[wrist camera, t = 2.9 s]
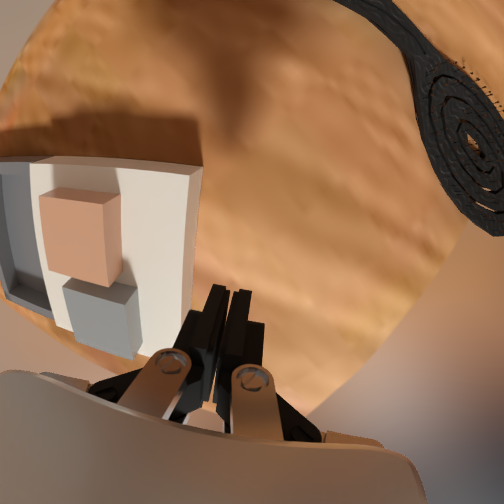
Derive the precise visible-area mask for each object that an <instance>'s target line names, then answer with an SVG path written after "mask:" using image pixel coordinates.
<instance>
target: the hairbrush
mask: <svg viewBox="0 0 504 504" xmlns="http://www.w3.org/2000/svg"><path fill="white" fill-rule="evenodd" d="M333 1H335V2H337V3H339V4H341V5H343V6H345V7H347V8H349V9H351V10H353V11H354V12H356V13H358V14H360V15H361V16H363V17H365V18H366V19H367V20H369V21H370V22H371V23H372V24H373V25H374V26H376V27H377V28H378V29H379V30H380V31H381V32H382V33H383V34H384V35H385V36H387V37H388V38H389V39H390V40H391V41H392V42H393V43H394V44H395V45H396V46H397V47H398V48H399V49H400V50H401V51H402V52H403V53H404V54H405V55H406V57H407V61H408V65H409V70H410V74H411V79H412V84H413V91H414V102H415V113H416V108H417V114H418V120H419V124H418V126H419V127H420V128H419V130H420V135H421V139H422V141H423V144H424V146H425V149H426V152H427V154H428V157H429V159H430V162H431V165H432V167H433V170H434V172H435V174H436V175H437V177H438V179H439V181H440V182H441V184H442V187H443V189H444V190H445V192H446V193H447V195H448V196H449V197H450V199H451V200H452V201H453V202H454V204H455V205H456V206H457V208H458V209H459V210H460V212H461V213H463V214H464V215H465V216H466V217H468V218H469V219H470V220H471V221H472V222H473V223H474V224H475V225H477V226H478V227H480V228H481V229H483V230H484V231H486V232H487V233H489V234H490V235H492V236H504V121H503V119H502V117H501V116H500V114H499V113H498V111H497V109H496V107H495V106H494V105H493V104H494V103H492V102H491V101H490V100H489V99H488V97H487V96H489V95H487V96H486V95H485V93H483V92H482V90H481V88H479V87H478V86H477V85H476V84H475V83H474V82H475V81H474V82H473V81H472V80H471V79H470V78H469V77H468V76H467V75H465V74H464V73H463V72H461V71H460V69H457V68H456V67H455V66H453V65H452V64H451V63H449V62H450V60H445V59H444V58H443V57H442V56H441V54H440V53H439V52H438V51H437V50H436V49H435V48H434V47H433V46H432V45H431V43H430V42H429V41H428V40H427V39H426V38H425V37H424V36H423V34H422V33H421V32H420V31H419V30H418V29H417V27H416V26H415V25H414V24H413V23H412V22H411V21H410V20H409V18H408V17H407V16H406V15H405V14H404V13H403V12H402V11H401V10H400V9H399V8H398V7H397V6H396V5H395V4H394V3H393V2H392V1H391V0H333ZM448 61H449V62H448ZM456 63H457V62H455V64H456ZM463 68H465V66H464V67H463ZM461 69H462V68H461ZM471 74H473V72H472V73H471ZM437 76H446V77H448V78H445V77H440V78H436V79H434V80H433V78H434V77H437ZM477 80H478V81H479V80H480V79H479V78H476V81H477ZM482 88H486V86H484V87H482ZM489 93H491V91H489ZM490 95H493V94H490ZM446 96H451V97H450V98H448V99H447V100H445V97H446ZM452 97H454V98H457V99H460V100H462V101H464V102H465V103H466V104H465V103H463V102H461V101H459V100H456V99H454V98H452ZM444 100H445V101H444ZM495 103H499V101H497V102H495ZM500 107H502V106H501V105H500ZM440 111H441V112H440ZM502 111H504V110H502ZM499 112H500V111H499ZM462 119H464V120H466V121H467V122H468V123H470V124H468V123H465V122H461V120H462ZM416 120H417V117H416ZM459 122H461V123H459ZM417 123H418V121H417ZM473 126H474V127H475V128H476V129H477V130H476V129H475V128H474V127H473ZM467 133H468V134H469V135H470V136H471V137H472V138H473V139H474V141H475V142H477V143H475V144H476V145H477V144H478V147H479V150H476V151H480V152H481V153H482V157H481V156H480V157H479V156H478V155H477V154H476V153H475V152H474V151H473V150H472V149H471V148H470V147H469V145H468V137H467ZM444 135H445V136H444ZM445 137H446V138H445ZM472 141H473V140H472ZM436 144H437V145H436ZM470 145H472V144H470ZM437 146H438V147H437ZM458 161H459V162H458ZM461 166H462V167H461ZM475 166H476V167H477V168H478V169H479V170H483V171H481V172H480V171H478V170H477V169H476V167H475ZM462 168H463V169H464V170H465V171H464V170H463V169H462ZM450 172H451V173H450ZM467 173H468V174H469V175H470V176H471V177H470V176H469V175H468V174H467ZM451 174H452V175H451ZM452 176H453V177H452ZM455 180H456V181H455ZM476 183H477V184H478V185H479V187H478V186H477V184H476ZM481 186H482V187H483V188H488V189H490V190H491V191H486V190H484V189H482V188H480V187H481ZM469 196H470V197H471V198H473V199H474V200H475V201H477V202H478V203H480V204H482V205H484V206H486V207H488V208H490V209H492V210H494V212H493V211H491V210H488V209H485V208H484V207H482V206H480V205H478V204H476V203H475V202H472V200H471V199H470V198H469Z"/></svg>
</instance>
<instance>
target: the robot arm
mask: <svg viewBox="0 0 504 504" xmlns="http://www.w3.org/2000/svg"><path fill="white" fill-rule="evenodd" d="M251 294H252V291H249V290H244V289H239V292H236V291H234V293H233V297H232V301H231V305H230V309H229V313H228V317H227V321H226V316H227V309H228V303H229V296H230V290H226V286H222V285H217V284H213V286H212V288H211V291H210V293H209V296H208V299H207V301H206V304H205V306H204V309H203V311H202V312H200V311H196V310H191V309H190V310H189V312H188V314H187V316H186V318H185V320H184V322H183V325H182V327H181V329H180V331H179V334H178V336H177V338H176V340H175V343H174V345H173V347H172V348H165V349H161V350H159V351H157V352H155V353H154V354H153V355H152V357H151V358H150V359H149V361H148V362H147V363H146V365H145V366H144V367H143V368H141V369H138V370H134V371H131V372H128V373H125V374H122V375H118V376H115V377H112V378H109V379H105V380H102V381H99V382H97V383H95V384H90V382H89V381H87V380H82V379H77V378H72V377H67V376H62V375H58V374H54V373H50V372H42V373H39V374H38V373H34V372H30V371H22V370H7V371H3V372H1V373H0V504H428V503H427V498H426V494H425V490H424V487H423V484H422V481H421V478H420V475H419V473H418V471H417V469H416V467H415V465H414V464H413V463H412V461H411V460H410V459H408V458H407V457H406V456H404V455H402V454H400V453H397V452H395V451H392V450H388V449H385V448H384V447H383V445H382V444H381V443H380V442H378V441H376V440H373V439H368V438H362V437H357V436H351V435H346V434H341V433H336V432H332V431H327V432H326V433H324V432H320V431H319V430H318V429H317V427H316V426H315V425H313V424H312V423H311V422H310V421H308V420H307V419H306V418H305V417H304V416H303V415H301V414H300V413H299V412H298V411H297V410H296V409H294V408H293V407H292V406H291V405H290V404H289V403H287V402H286V401H285V400H284V399H283V398H282V397H281V396H280V395H278V394H277V393H276V391H275V385H274V379H273V377H272V375H271V373H270V372H269V371H268V370H267V369H265V368H264V367H262V356H263V342H264V327H265V324H264V323H259V322H253V321H248V314H249V307H250V301H251ZM225 323H226V325H225ZM216 368H217V369H216ZM215 372H216V377H215V385H214V394H213V403H217V406H216V412H217V413H218V415H219V416H220V417H221V418H222V419H223V420H224V421H223V433H222V432H216V431H212V430H207V429H201V428H197V427H193V426H188V425H186V423H187V421H188V419H189V417H190V413H191V412H192V411H194V410H196V409H198V408H199V407H200V408H202V404H203V401H207V402H208V401H209V397H210V393H211V389H212V385H213V380H214V376H215Z"/></svg>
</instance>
